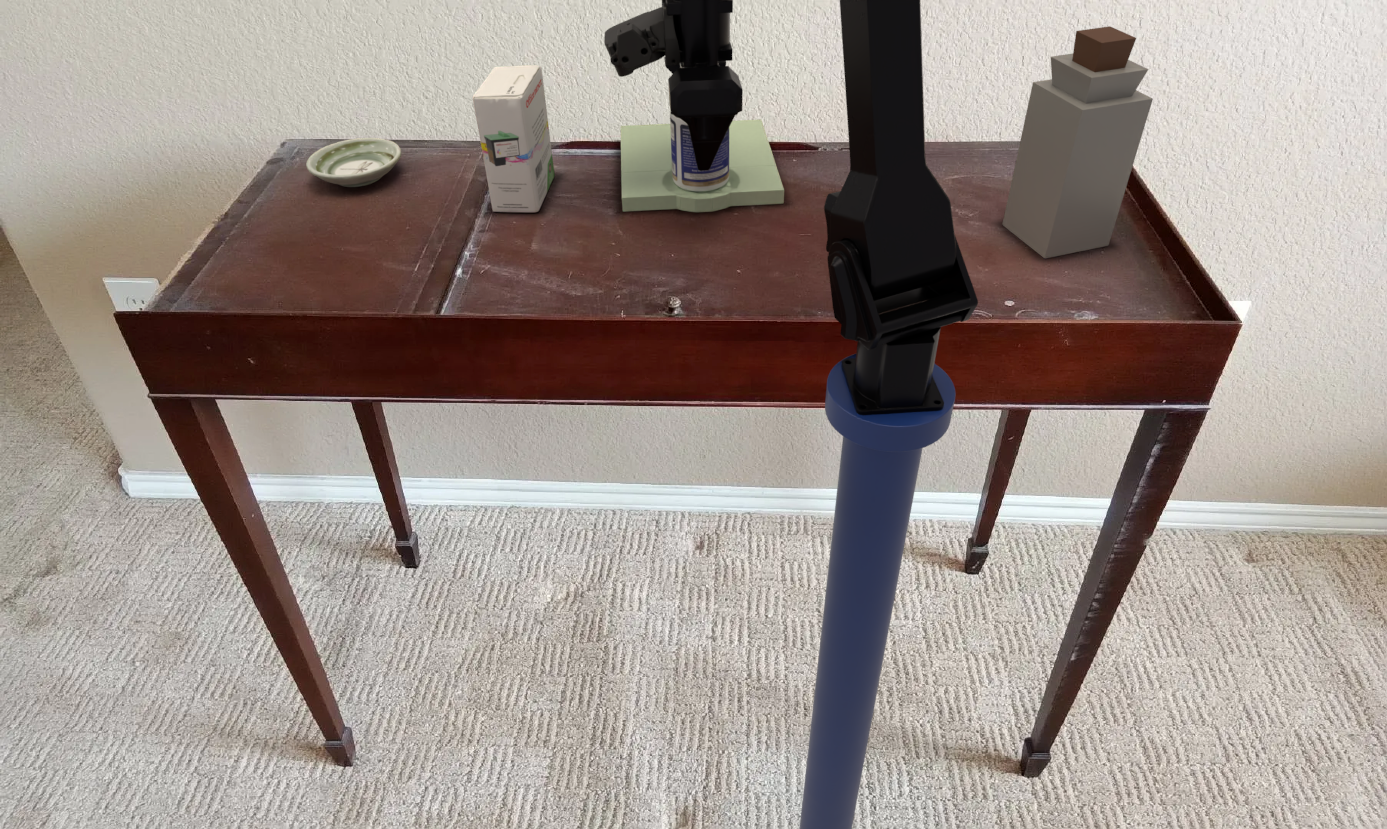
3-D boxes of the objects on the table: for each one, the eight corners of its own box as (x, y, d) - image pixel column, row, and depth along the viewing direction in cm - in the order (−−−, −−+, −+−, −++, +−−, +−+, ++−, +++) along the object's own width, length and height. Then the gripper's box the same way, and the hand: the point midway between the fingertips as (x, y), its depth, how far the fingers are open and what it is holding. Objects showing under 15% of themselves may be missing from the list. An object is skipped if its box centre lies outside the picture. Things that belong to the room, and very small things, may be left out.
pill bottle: (741, 179, 92) (742, 80, 86) (702, 199, 89) (701, 97, 82) (699, 163, 95) (697, 66, 89) (660, 182, 92) (655, 82, 86)
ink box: (510, 175, 97) (492, 62, 90) (556, 176, 97) (542, 62, 89) (490, 212, 91) (469, 94, 83) (539, 213, 90) (522, 95, 83)
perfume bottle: (1063, 213, 88) (1114, 17, 77) (1108, 245, 83) (1170, 41, 72) (1002, 224, 87) (1044, 27, 75) (1044, 258, 82) (1097, 52, 70)
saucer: (322, 160, 101) (316, 139, 100) (411, 155, 102) (406, 134, 100) (303, 200, 94) (296, 178, 92) (399, 194, 94) (393, 171, 93)
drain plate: (785, 208, 90) (785, 194, 89) (622, 216, 90) (621, 202, 89) (761, 131, 105) (761, 118, 104) (621, 138, 104) (620, 125, 103)
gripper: (606, -42, 87) (618, 118, 97) (604, 17, 73) (618, 198, 83) (722, -46, 88) (722, 114, 97) (744, 11, 73) (741, 192, 83)
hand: (700, 151), depth 90 cm, fingers open, 8 cm apart
